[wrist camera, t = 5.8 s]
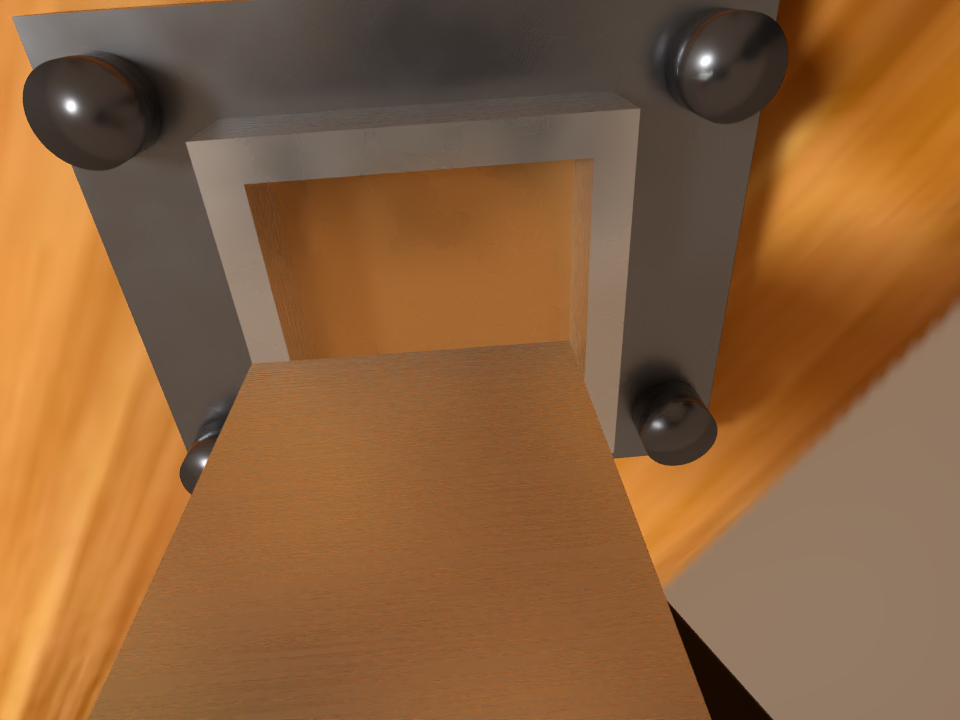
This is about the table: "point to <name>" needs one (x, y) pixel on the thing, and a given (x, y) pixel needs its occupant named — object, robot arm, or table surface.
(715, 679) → the robot arm
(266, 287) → the square hole base plate
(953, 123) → the table surface
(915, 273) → the table surface
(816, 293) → the table surface
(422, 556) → the brushed metal square peg
